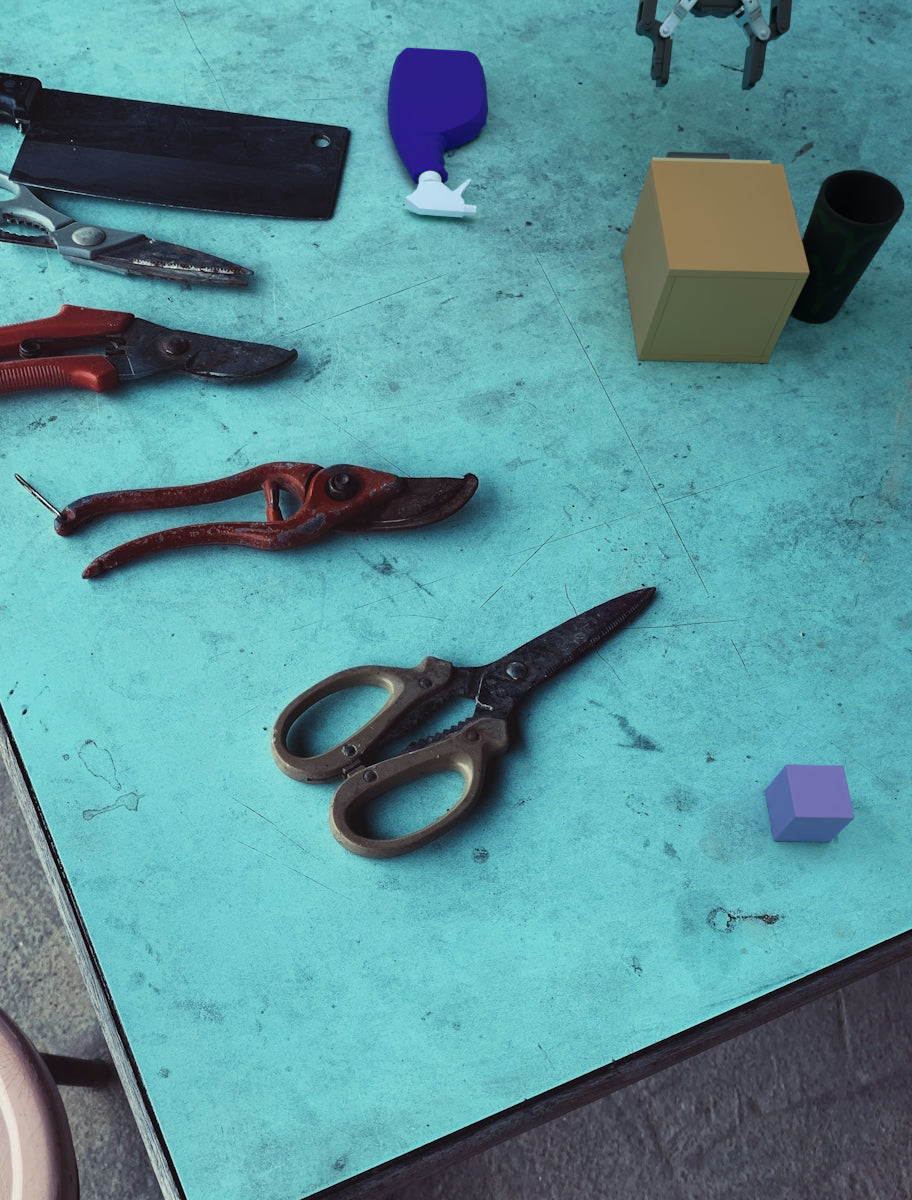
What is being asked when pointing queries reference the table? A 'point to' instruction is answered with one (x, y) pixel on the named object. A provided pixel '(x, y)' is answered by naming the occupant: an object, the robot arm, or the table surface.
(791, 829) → the violet matte cube
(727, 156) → the drawer
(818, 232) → the cup
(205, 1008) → the table surface
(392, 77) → the spray bottle
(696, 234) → the cabinet
